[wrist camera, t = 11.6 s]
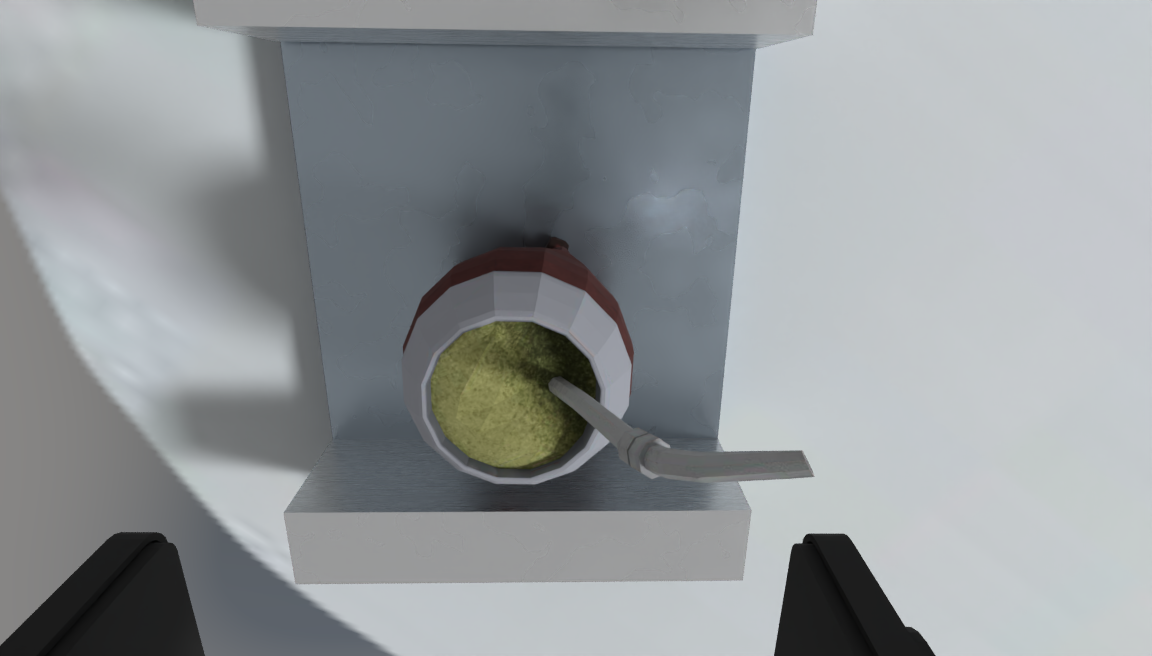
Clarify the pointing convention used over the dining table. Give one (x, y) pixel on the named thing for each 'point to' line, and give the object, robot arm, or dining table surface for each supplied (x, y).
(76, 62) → the dining table surface
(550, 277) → the mate gourd
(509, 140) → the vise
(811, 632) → the robot arm
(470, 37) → the vise jaw
